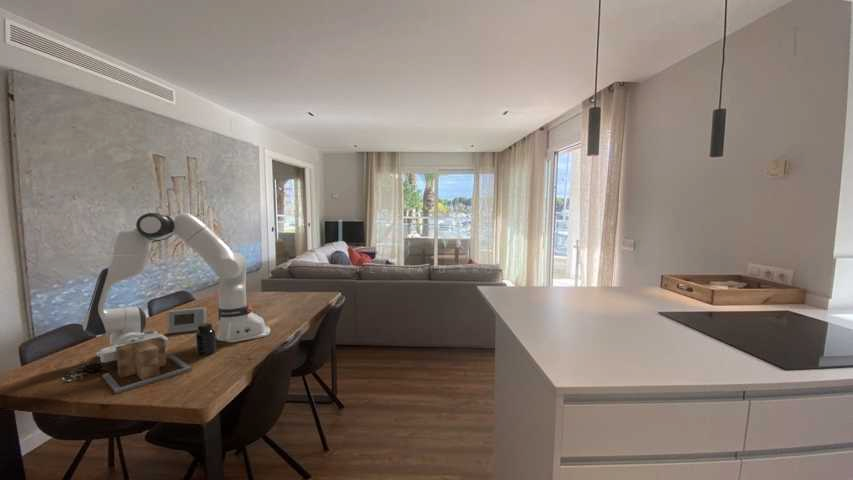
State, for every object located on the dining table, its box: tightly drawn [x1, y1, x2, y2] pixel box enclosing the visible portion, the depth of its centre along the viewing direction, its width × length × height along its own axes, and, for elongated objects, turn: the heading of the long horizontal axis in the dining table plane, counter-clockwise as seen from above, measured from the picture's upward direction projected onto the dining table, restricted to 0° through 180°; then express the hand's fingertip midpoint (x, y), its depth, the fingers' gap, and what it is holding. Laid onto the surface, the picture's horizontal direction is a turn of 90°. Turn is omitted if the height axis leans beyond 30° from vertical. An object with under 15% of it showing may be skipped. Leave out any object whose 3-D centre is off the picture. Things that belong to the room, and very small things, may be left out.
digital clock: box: [166, 307, 207, 335], centre depth 170 cm, size 16×9×11 cm, turn 102°
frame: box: [102, 354, 192, 394], centre depth 124 cm, size 21×18×1 cm
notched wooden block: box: [116, 337, 167, 381], centre depth 125 cm, size 13×12×10 cm
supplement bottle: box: [195, 322, 217, 357], centre depth 142 cm, size 7×7×12 cm
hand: (140, 353), depth 129 cm, fingers closed, pressing on notched wooden block
